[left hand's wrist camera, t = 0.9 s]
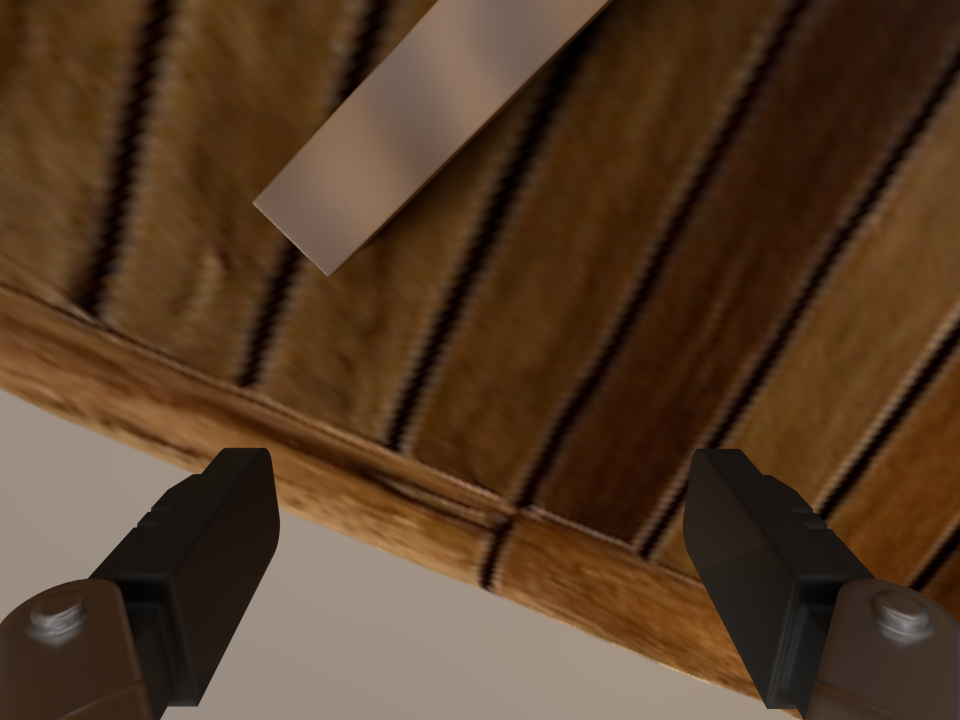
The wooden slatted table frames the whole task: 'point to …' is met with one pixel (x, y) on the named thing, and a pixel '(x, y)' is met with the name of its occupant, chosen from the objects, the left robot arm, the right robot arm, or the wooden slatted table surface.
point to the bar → (414, 118)
